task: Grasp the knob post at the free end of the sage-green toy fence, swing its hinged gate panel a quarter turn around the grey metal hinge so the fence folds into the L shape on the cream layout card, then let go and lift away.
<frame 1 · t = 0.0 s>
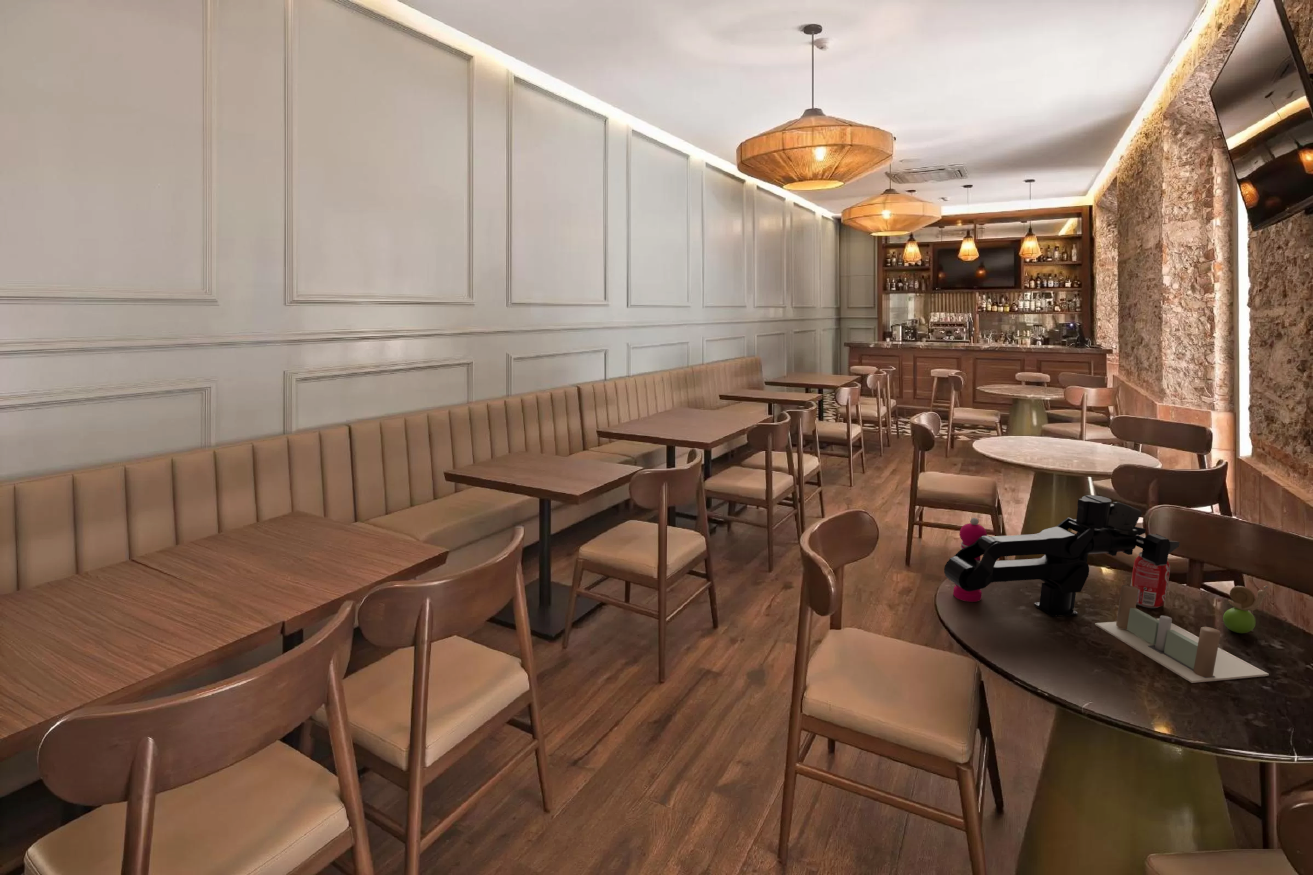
hand: (1161, 537, 163), 17 cm above the table, tool horizontal, fingers open, 9 cm apart
pepper mill: (966, 597, 170), on the table
fence gate: (1139, 613, 149), point 5 cm above the table, hinge at 0.0°
fence fixed: (1160, 651, 144), resting on layout card
snail figurine: (1239, 633, 152), on the table
layout card: (1175, 648, 145), on the table
soda can: (1145, 604, 166), on the table
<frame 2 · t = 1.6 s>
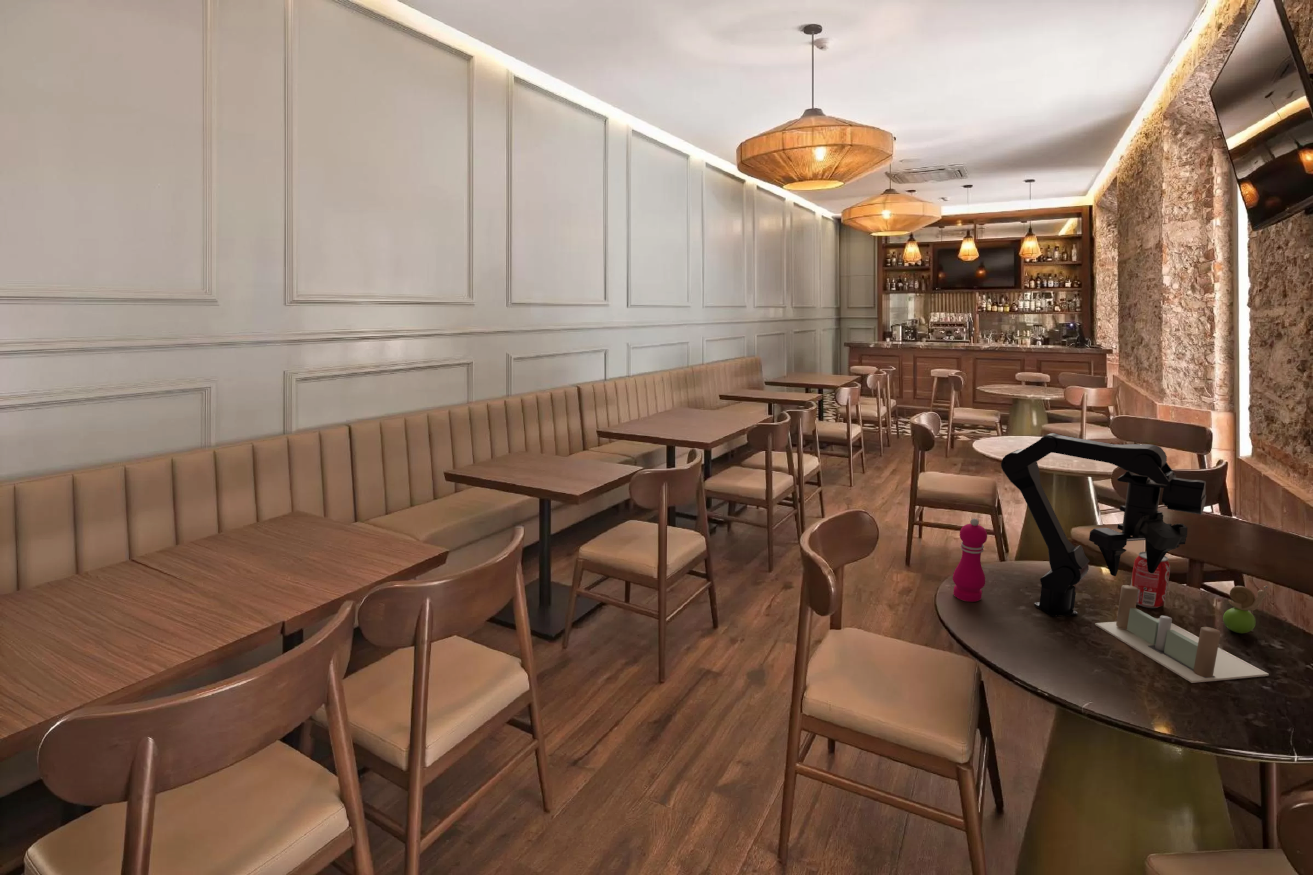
hand: (1132, 574, 151), 13 cm above the table, tool pointing down, fingers open, 9 cm apart
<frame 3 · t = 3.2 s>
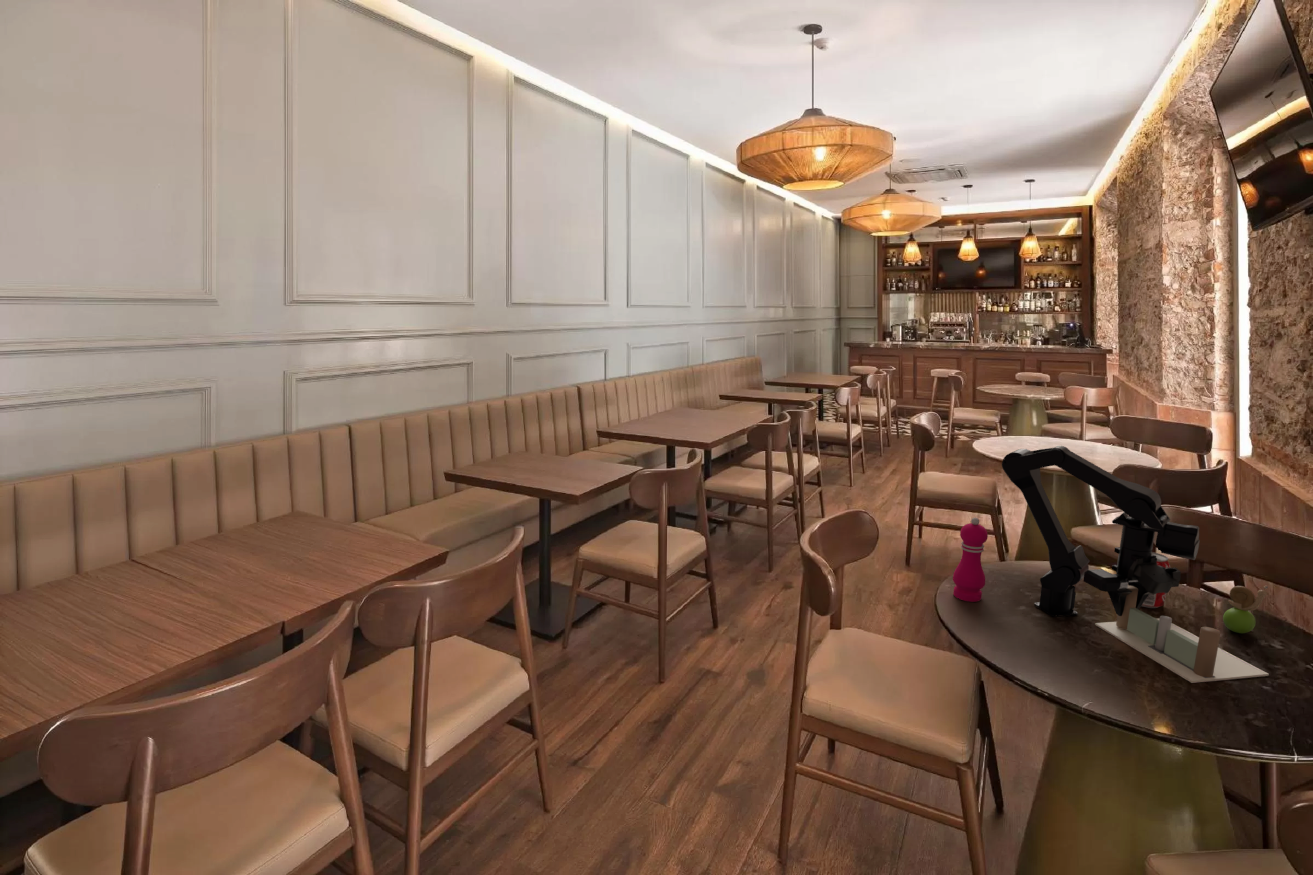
hand: (1125, 614, 153), 4 cm above the table, tool pointing down, fingers closed on fence gate, 3 cm apart
fence gate: (1139, 613, 149), point 5 cm above the table, hinge at 0.0°, touching gripper
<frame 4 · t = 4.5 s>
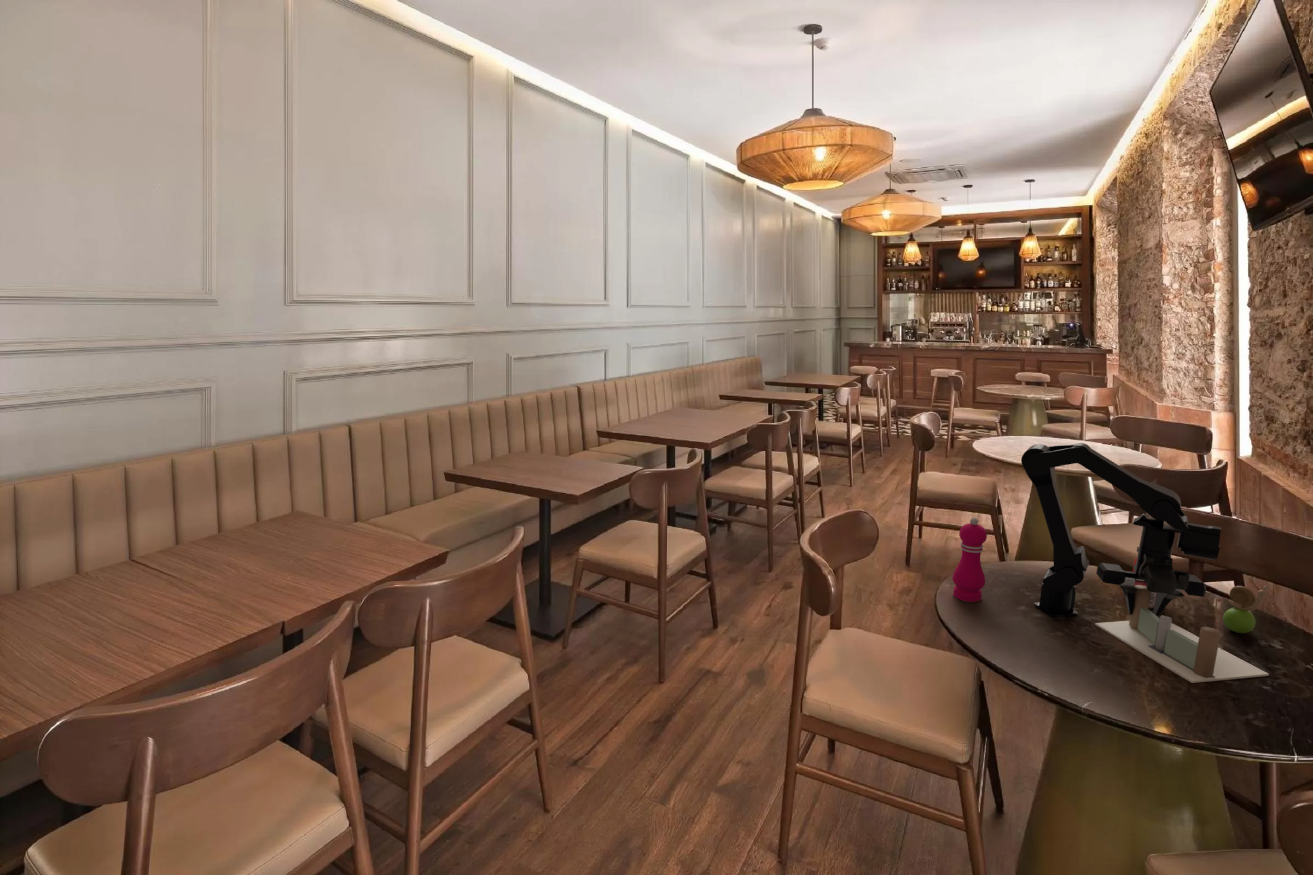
hand: (1142, 615, 152), 3 cm above the table, tool pointing down, fingers open, 4 cm apart
fence gate: (1148, 613, 149), point 5 cm above the table, hinge at 17.3°, touching gripper
everything else where it was.
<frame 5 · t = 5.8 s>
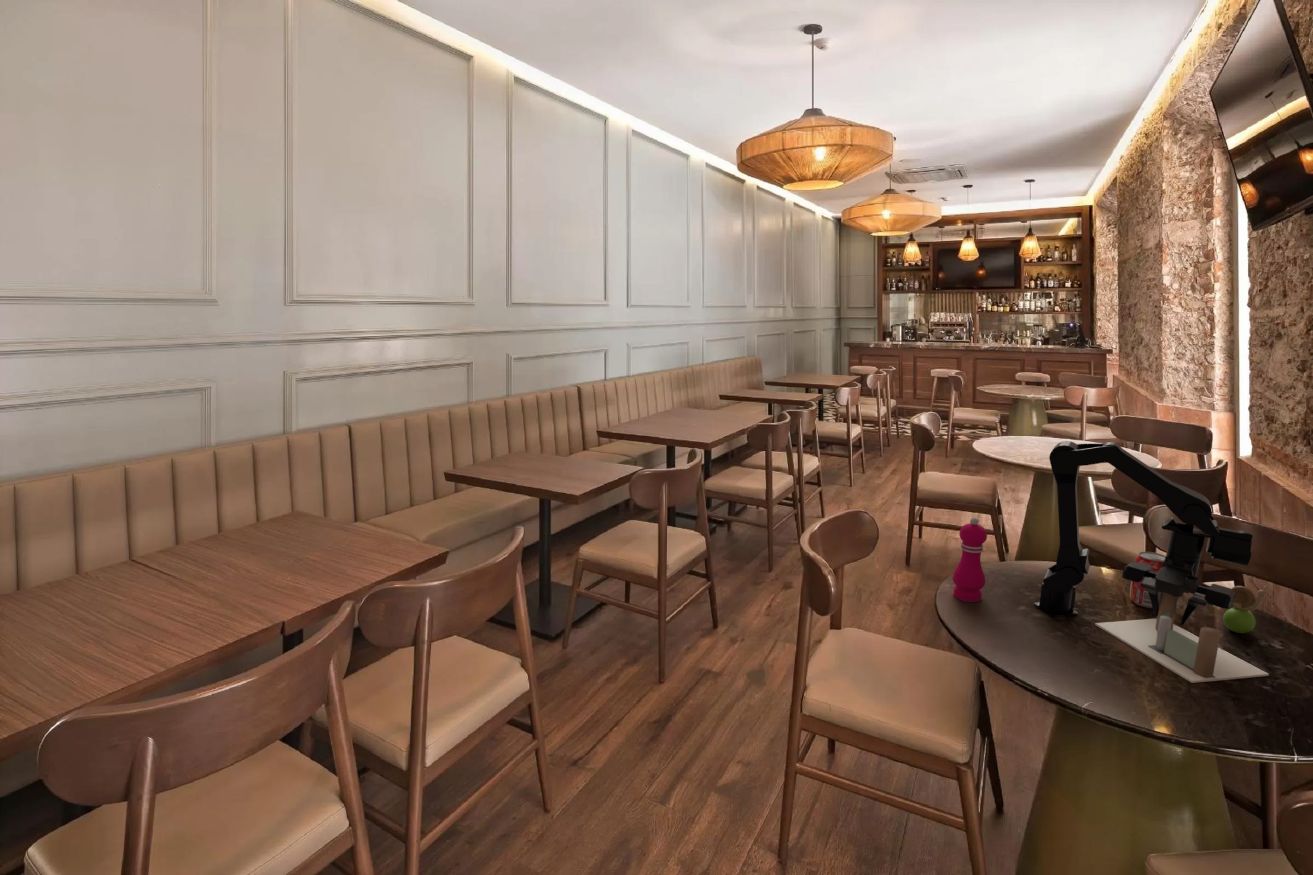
hand: (1168, 620, 150), 3 cm above the table, tool pointing down, fingers open, 4 cm apart
fence gate: (1166, 616, 148), point 5 cm above the table, hinge at 46.9°, touching gripper
everything else where it was.
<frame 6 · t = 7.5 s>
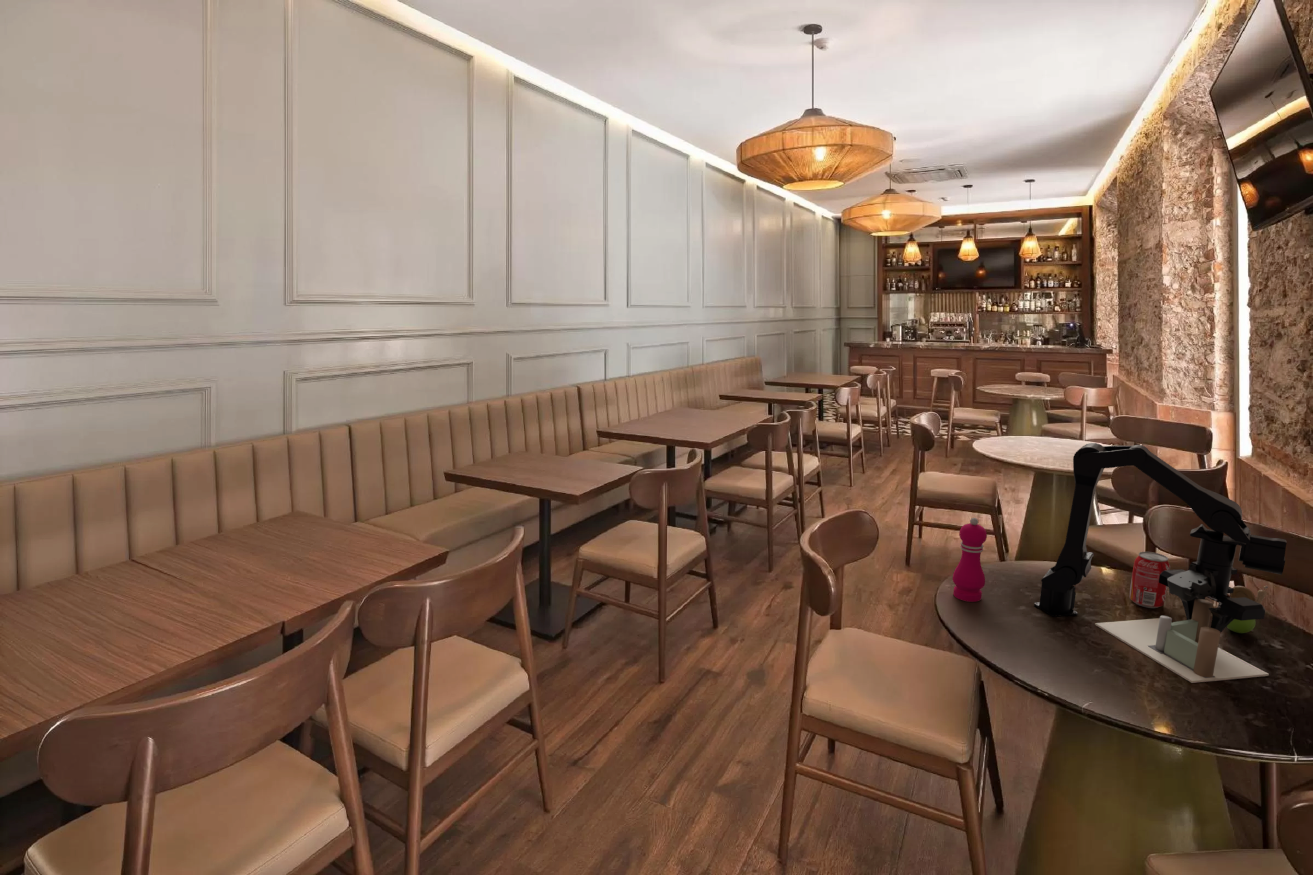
hand: (1201, 631, 145), 3 cm above the table, tool pointing down, fingers open, 5 cm apart
fence gate: (1187, 623, 145), point 5 cm above the table, hinge at 84.1°
everything else where it was.
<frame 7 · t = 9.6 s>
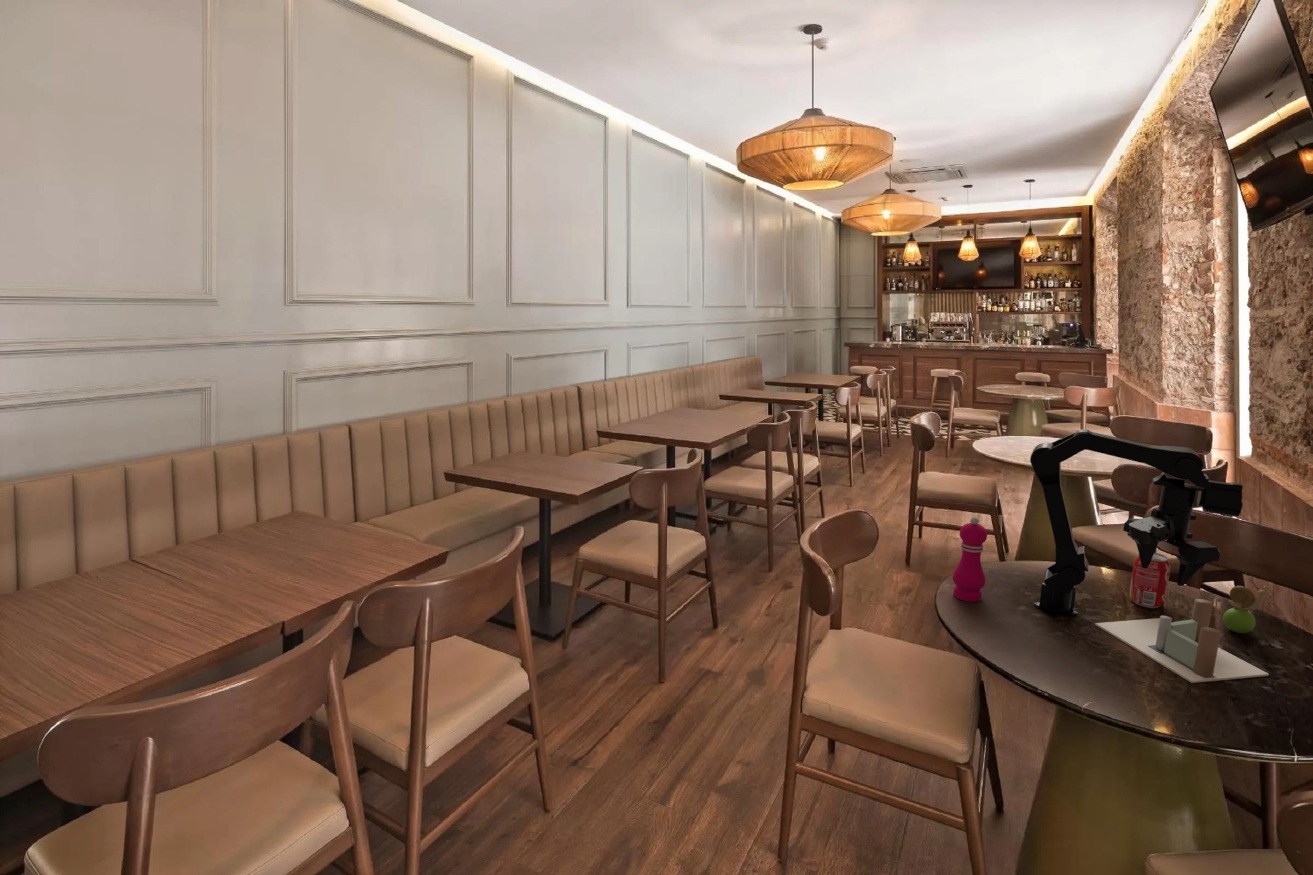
hand: (1161, 576, 151), 13 cm above the table, tool pointing down, fingers open, 9 cm apart
nothing on the table moved.
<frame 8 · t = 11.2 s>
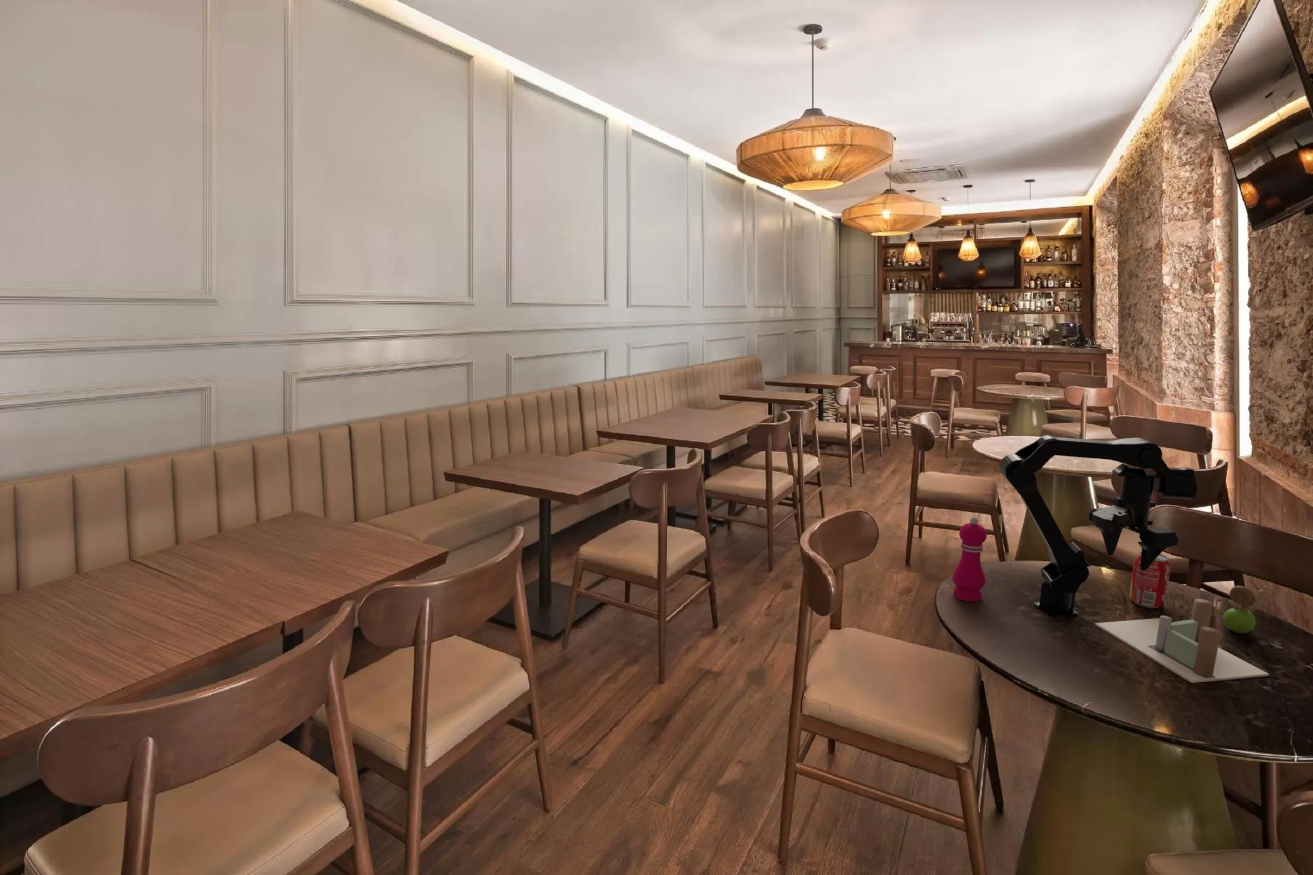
hand: (1126, 562, 157), 13 cm above the table, tool pointing down, fingers open, 9 cm apart
nothing on the table moved.
at the end: fence gate at +84° (first picture: +0°); the gripper is holding nothing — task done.
